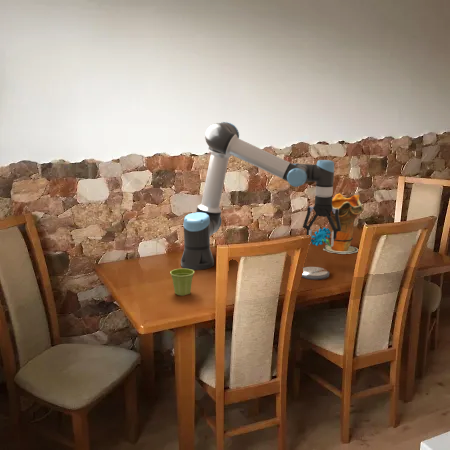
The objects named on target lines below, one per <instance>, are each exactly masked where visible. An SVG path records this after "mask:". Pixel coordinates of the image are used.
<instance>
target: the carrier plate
mask: <svg viewBox="0 0 450 450" xmlns="http://www.w3.org/2000/svg"><path fill="white" fill-rule="evenodd" d="M302 268H303V273H302V277H301V278H303V279H306V280H311V281H312V280H313V281H317V280H319V281H320V280H325V279H328V278H329V277H330V271H329V270H328V269H326V268H323V267H319V266H305V267H302Z"/></svg>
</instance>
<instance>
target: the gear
mask: <svg viewBox="0 0 450 450" xmlns="http://www.w3.org/2000/svg"><path fill="white" fill-rule="evenodd" d="M330 234H331V232H330V231H329V227H327V228H326V227H323V228H319V229H318V231H315V232H314V234H312V235H311V244H312V245H313V246H316V247H319V245H320V246H322V245H324V244H325V245H329V246H330V247H331V240H330V239H329V237H330ZM328 239H329V240H328Z"/></svg>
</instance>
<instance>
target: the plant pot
mask: <svg viewBox="0 0 450 450" xmlns="http://www.w3.org/2000/svg"><path fill="white" fill-rule="evenodd" d="M169 273H170V276H171V278H172V283H173V284H172V285H173V289H174V294H175V295H177V296H186V295H190V294H191V291H192V290H191V289H192V282H193V276H194V275H195V270H192V269H186V268H183V267H181V268H176V269H173V270H170V272H169Z"/></svg>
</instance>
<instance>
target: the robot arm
mask: <svg viewBox="0 0 450 450" xmlns="http://www.w3.org/2000/svg"><path fill="white" fill-rule="evenodd" d="M204 136H205V137H204V139H205V142H206V144H207V145H208V151H209V153H210V157H209V161H208V168H207V172H206V178H205V182H204V187H203V193H202V198H201V203H200V204H197V206H196V212H192V213H188V214H187V215H185V216H184V219H183V223H182V224H183V225H182V226H183V242H184V243H183V244H184V247H183V248H184V249H183V253H182V256H181V259H180V266H181V268H183V269H191V270H193V271H195V270H196V271H197V270H198V271H199V270H200V271H201V270H206V269H210V268H212V267H213V266H214V265H215V259H214V256H213V253H212V250H211V236H213V235H214V234H216V233H217V232H218V231H219V229H220V227H221V226H222V216H221V214H222V209H221V208H220V203H221V199H222V193H223V189H224V184H225V180H226V176H227V175H226V174H227V169H228V166H229V165H228V164H229V159H230V157H232V156H233V157H235V158H238V159H239V160H241V161H244V162H245V163H248V164H250V165H252V166H254V167H256V168H258V169H261V170H263V171H264V172H267V173H269V174H271V175H273V176H276V177H278V178H280V179H282V180H284V181H286V182H287V183H288V184H289V186H290V185H291V186H292V187H296V188H297V187H300V186H303V185H304V184H305V183H306V182H311V183H312V182H313V183H314V182H315V191H314V194H315V196H314V206H310V205H309V206H307V208H306V215H305V218H304V221H303V225H302V228H303V229H306V236H307V235H310V236H311V237H312V235H313V234H312V230H313V228H311V227H312V226H313V224H314V223H315V221H316V220H317V218H318V217H324V218H327V221H328V222H329V223H330V225H331V227H332V229H333V231H332V238H331V240H330V245H331V247H333V245H334V239H336V237H337V232H338V231H341V225H340V220H339V214H338V213H339V209H338V208H337V209H334V208H333V207H332V199H333V195H334V194H333V192H334V178H335V177H334V176H335V162H334V160H330V159H318V160H317V162H316V164H308V163H298V162H297V163H292V162H290V161H287V160H285V159H283V158H280V157H279V156H276V155H275V154H272V153H270V152H269V151H266V150H264V149H261V148H259V147H257V146H255V145H254V144H251V143H249V142H246V141H244V140H243V139H240V132H239V130H238V128H237V127H236V125H235V124H233V123H231V122H227V121H222V122H216V123H213V124H211V125H209V127H208V128H207V129H206V131H205V135H204ZM313 211H314V212H315V214H314V216H313V217H312V219H311V220H310V216H311V213H312V212H313ZM332 211H333V212H334V214H335V218H336V223H337V228H336V226H335V224H334V222H333V220H332V218H331V215H330V213H331V212H332ZM309 220H310V222H309V224H308V221H309ZM329 223H328V224H329ZM311 244H312V242H310V244H309V245H311Z"/></svg>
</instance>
